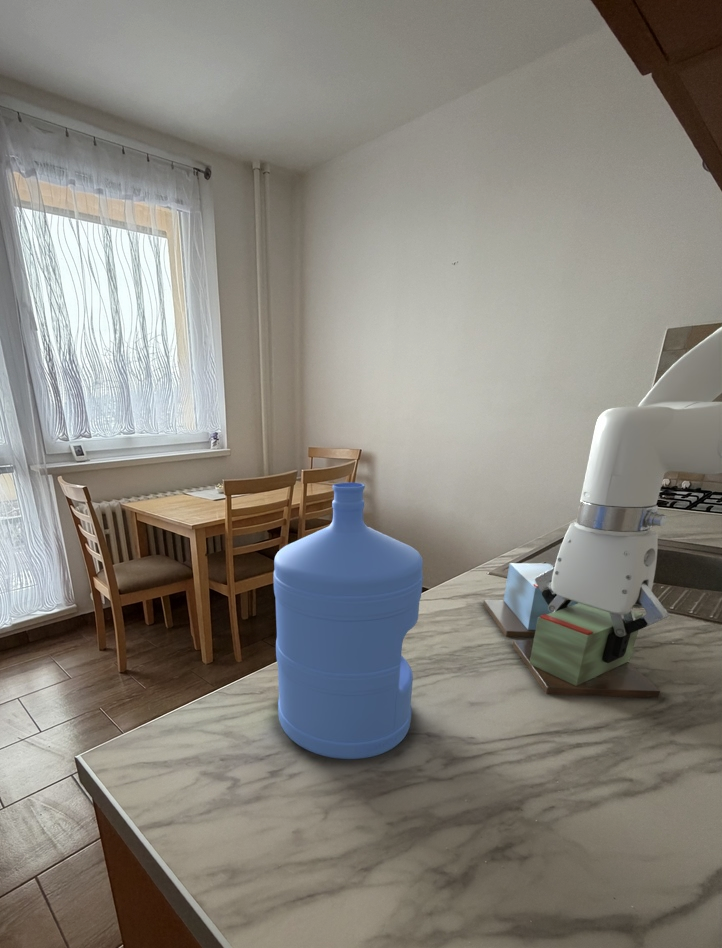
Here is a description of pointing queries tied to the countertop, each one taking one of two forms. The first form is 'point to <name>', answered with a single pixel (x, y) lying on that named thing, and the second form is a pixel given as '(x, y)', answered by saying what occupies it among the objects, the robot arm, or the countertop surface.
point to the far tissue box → (526, 592)
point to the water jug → (345, 634)
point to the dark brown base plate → (507, 619)
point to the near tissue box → (576, 643)
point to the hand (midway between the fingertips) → (582, 647)
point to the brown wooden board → (607, 684)
